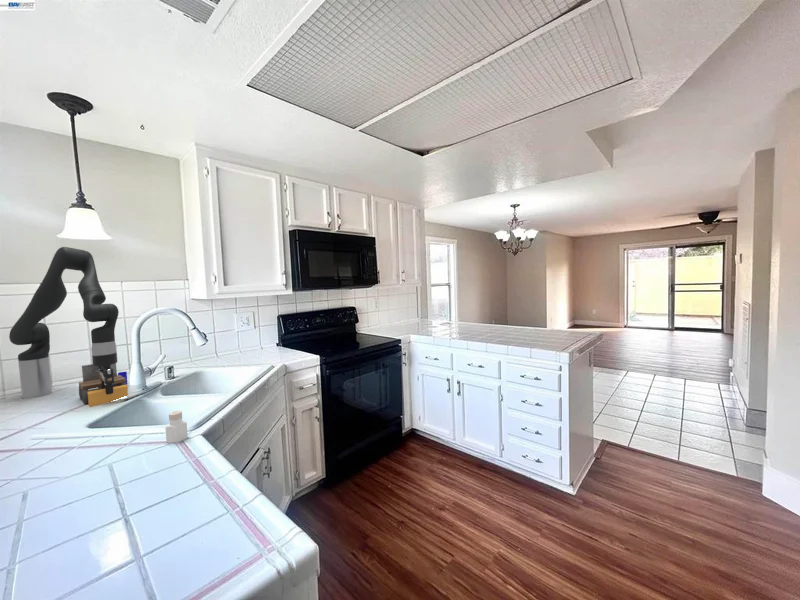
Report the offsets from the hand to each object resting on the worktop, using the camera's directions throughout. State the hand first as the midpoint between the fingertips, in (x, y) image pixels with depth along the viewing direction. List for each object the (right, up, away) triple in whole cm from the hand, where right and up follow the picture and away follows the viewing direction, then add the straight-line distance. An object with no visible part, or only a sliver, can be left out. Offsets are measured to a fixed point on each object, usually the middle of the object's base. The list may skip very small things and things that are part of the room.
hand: (107, 392), depth 134 cm
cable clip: (-15, -4, +24) cm, 29 cm away
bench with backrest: (-9, -5, +8) cm, 12 cm away
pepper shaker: (+55, -5, -38) cm, 67 cm away
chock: (0, -5, +1) cm, 5 cm away
